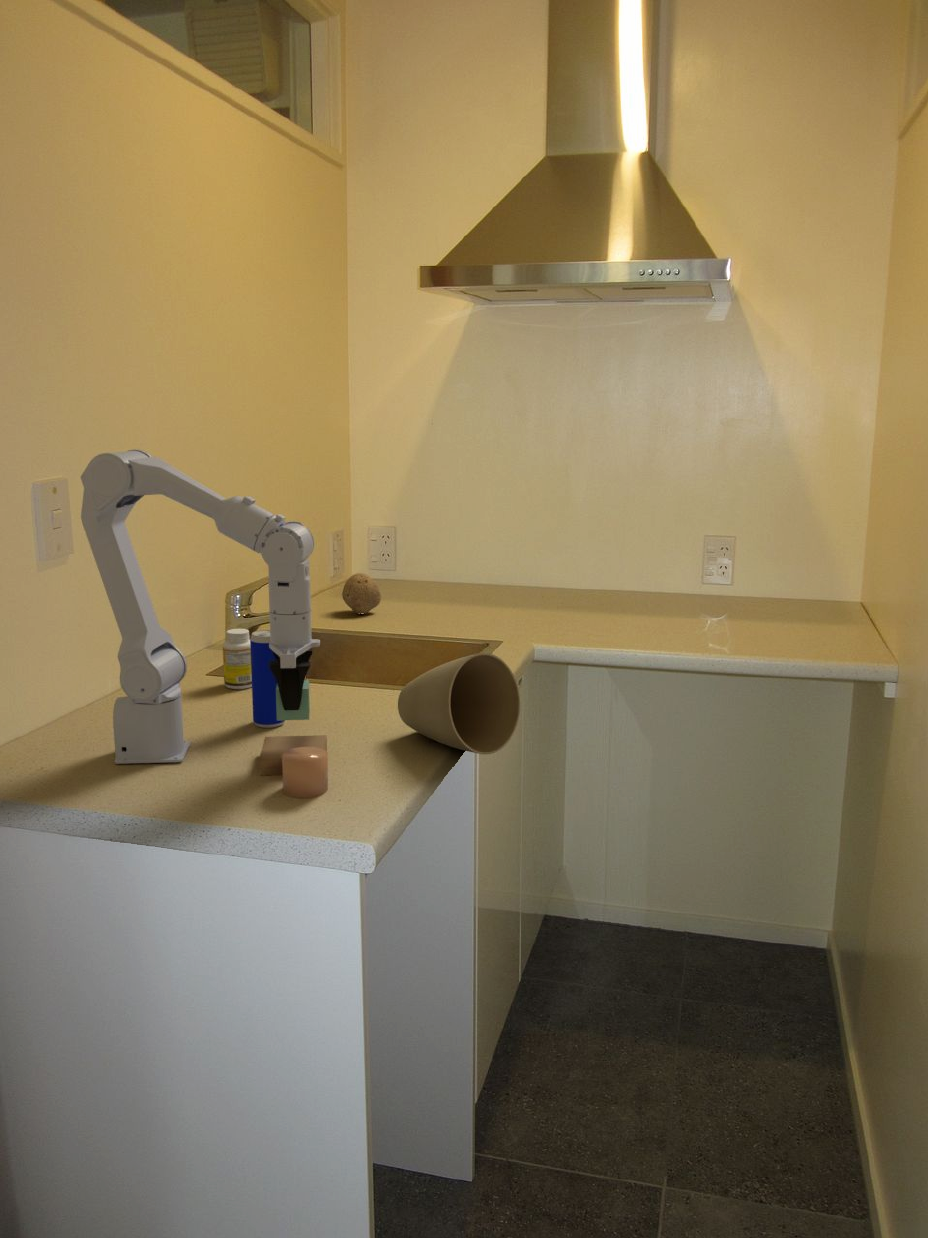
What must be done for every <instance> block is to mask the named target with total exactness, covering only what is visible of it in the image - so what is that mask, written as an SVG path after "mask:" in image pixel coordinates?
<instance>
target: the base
mask: <svg viewBox="0 0 928 1238" xmlns="http://www.w3.org/2000/svg"><path fill="white" fill-rule="evenodd" d="M327 737H328V735H325V734H319V735H318V734H317V735H289V736H288V735H284V736H283V735H282V736H281V735H279V736H265V737H264V739H263V744H262V749H261V751H260V755H259V776H280V775H281V776H283V767H282V754H283V753H284V752H285V751H287V750H289V749H292V748H297V747H316V748H321V749H323V750H325V751H327V752H328V738H327Z"/></svg>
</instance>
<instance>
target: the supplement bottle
mask: <svg viewBox="0 0 928 1238" xmlns="http://www.w3.org/2000/svg"><path fill="white" fill-rule="evenodd" d="M225 636H226V637H225V638H226V640H225V641H224V642H223V643H222V659H223V662H222V663H223V680H224V686H225V687H226V688H228V689H230V690H231V689H233V690H245V689H249V688H252V674H251V647H250V639H251V638H250V631H249V629H247V628H232V629H229V630H226V634H225Z"/></svg>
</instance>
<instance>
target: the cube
mask: <svg viewBox="0 0 928 1238" xmlns="http://www.w3.org/2000/svg"><path fill="white" fill-rule="evenodd" d="M310 699H311V698H310V680H309V679H305V680H304V683H303V690H302V698H301V704H300V708H299V710H284V708H283V705H282V701H281V696H280V692H279V688H278V684H277V686H276V710H277V721H282V720H285V721H305V720H306V721H307V720H308V721H309V720H310V712H311V709H310V705H311V703H310Z"/></svg>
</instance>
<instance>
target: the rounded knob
mask: <svg viewBox="0 0 928 1238" xmlns="http://www.w3.org/2000/svg"><path fill="white" fill-rule="evenodd" d="M328 754H329V753H328V750H327V751H325V750H323V749H321V748H316V747H297V748H292V749H289V750H287V751H285V752H284V753H283V754H282V767H283V775H282V793H283V794H285V795H286V796H288V797H291V798H296V799H310V798H311V799H312V798H316V797H321V796H322V795H324V794H326V793H327V791H328V789H329V768H328V767H329V761H328V760H329V758H328V757H329V755H328Z"/></svg>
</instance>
